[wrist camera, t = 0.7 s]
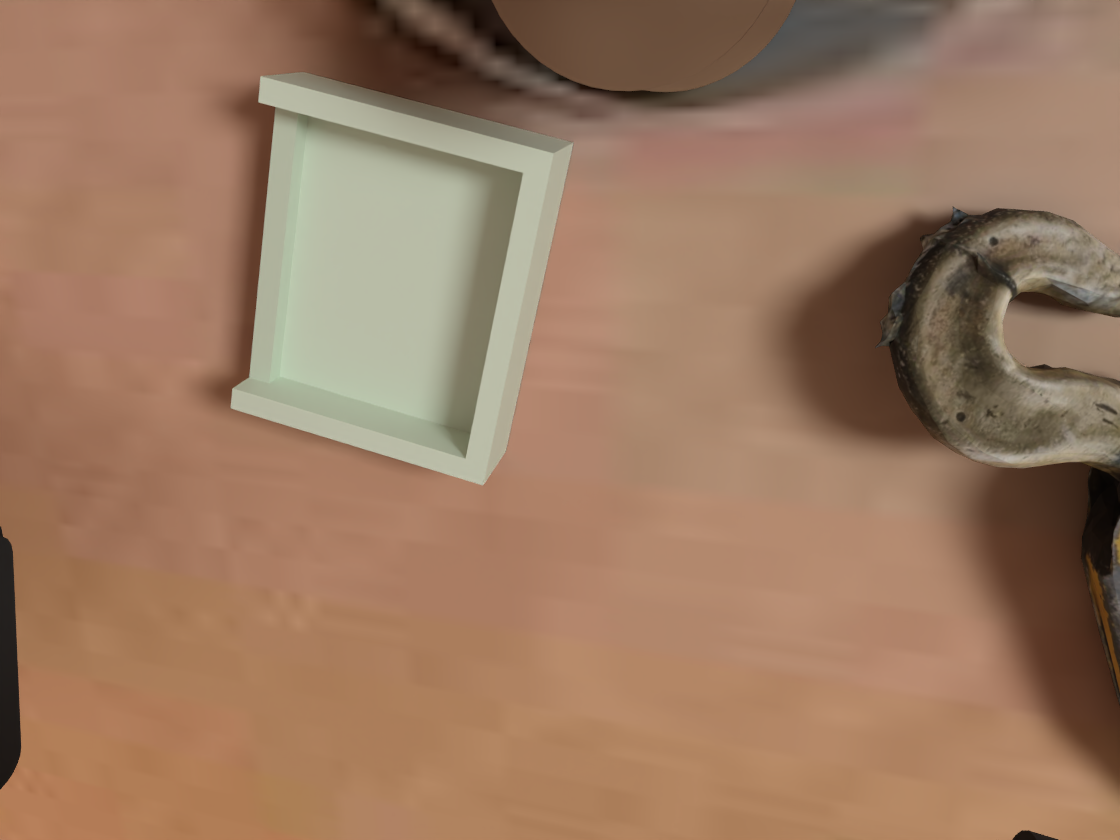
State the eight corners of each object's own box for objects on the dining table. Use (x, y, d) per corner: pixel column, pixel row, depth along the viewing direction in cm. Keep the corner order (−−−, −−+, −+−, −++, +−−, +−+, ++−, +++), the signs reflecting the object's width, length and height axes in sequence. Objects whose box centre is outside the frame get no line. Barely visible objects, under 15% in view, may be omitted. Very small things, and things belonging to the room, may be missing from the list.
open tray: (303, 71, 34) (260, 76, 31) (573, 142, 33) (554, 153, 30) (270, 381, 38) (230, 408, 36) (505, 451, 37) (483, 485, 35)
